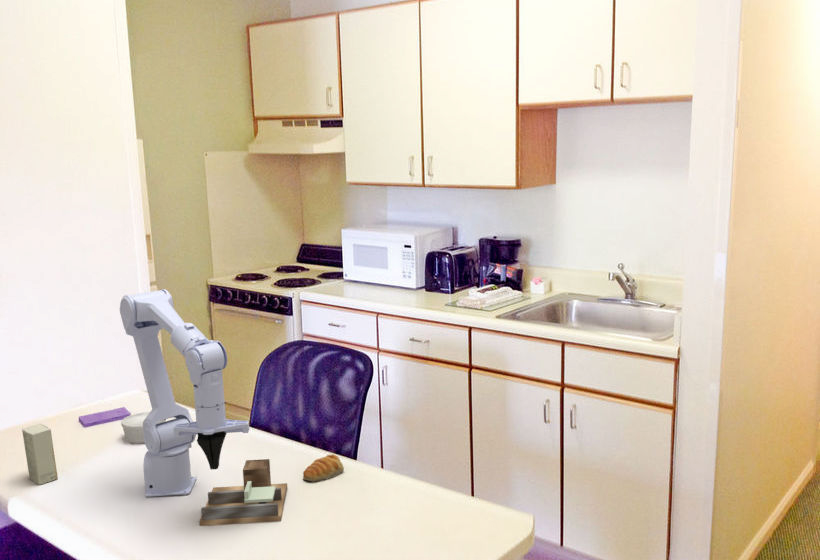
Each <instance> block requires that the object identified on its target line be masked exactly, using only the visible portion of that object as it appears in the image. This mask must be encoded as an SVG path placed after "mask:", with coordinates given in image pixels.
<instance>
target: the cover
mask: <svg viewBox="0 0 820 560" xmlns="http://www.w3.org/2000/svg"><path fill="white" fill-rule="evenodd" d="M275 489H276V487H275V486H270V487H253V488H252V483H251V481H247V484H246V487H245V491H244V498H245V500H244V503H253V502H270V501H273V498H274V494H275Z"/></svg>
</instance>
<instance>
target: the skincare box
mask: <svg viewBox="0 0 820 560" xmlns="http://www.w3.org/2000/svg"><path fill="white" fill-rule="evenodd" d="M21 431H22V439H23V444H24V445H23V446H24V451H25V457H26V463H27V464H26V465H27V473H28V478H29V479H30V480H32V482H34V483H35V484H36V485H39V486H41V485H44V484H46V483H49V482H53V481H55V480H57V479H58V477H59V476H58V472H57V462H56V457H55V456H56V455H55V449H54V442H53V436H52V435H53V434H52V428H50V427H48V426H47V425H45V424H42V423H39V424H35V425H32V426H28V427H25V428H22V429H21Z"/></svg>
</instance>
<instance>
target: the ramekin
mask: <svg viewBox="0 0 820 560" xmlns="http://www.w3.org/2000/svg"><path fill="white" fill-rule="evenodd" d="M150 412H151V411H144V412H137V413H134V414H133V413H132V414H131V415H130V416H127V417H125V418H124V419H123V420H120V421H121V422H120V423H121V427H122V430H123V433H124V437H125V440H126V441H127V442H129V443H131V444H139V445H140V444H145V442H144V430H143V421H144V420H145V418H146V417H147V416H148V414H149V413H150ZM166 421H167V419H165V420H161V421H158V422H157V424H159V423H163V422H166Z"/></svg>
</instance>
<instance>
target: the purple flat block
mask: <svg viewBox="0 0 820 560" xmlns="http://www.w3.org/2000/svg"><path fill="white" fill-rule="evenodd" d="M130 415H132V414H131V412H130V411H129V410H128V409H127V408H126V407H125V406H122V407H119V408H113V409H109V410H104V411H97V412H93V413H89V414H86V415H79V416H78V421H79V423H80V424H81V425H82V427H83V428H89V427H93V426H99V425H102V424H103V425H104V424H107V423H113V422H118V421H122V420H123V419H124V418H125V417H127V416H130Z"/></svg>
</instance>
